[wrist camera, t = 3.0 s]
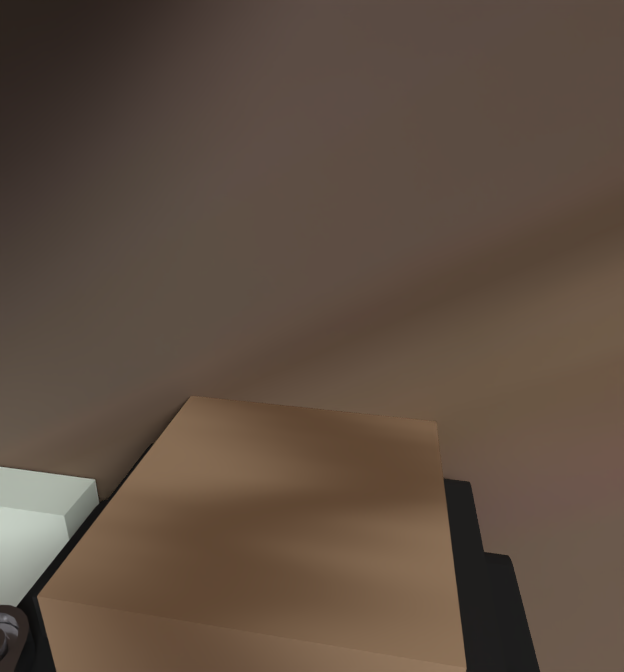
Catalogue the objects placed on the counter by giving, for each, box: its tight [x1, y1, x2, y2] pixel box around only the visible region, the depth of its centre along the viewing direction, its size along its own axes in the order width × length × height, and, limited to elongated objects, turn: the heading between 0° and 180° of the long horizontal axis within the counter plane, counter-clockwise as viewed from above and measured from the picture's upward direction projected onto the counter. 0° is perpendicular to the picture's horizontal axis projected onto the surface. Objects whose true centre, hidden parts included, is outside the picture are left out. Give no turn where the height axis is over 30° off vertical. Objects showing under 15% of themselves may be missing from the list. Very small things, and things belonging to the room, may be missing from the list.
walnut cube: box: [37, 396, 467, 672], centre depth 9 cm, size 5×5×5 cm
